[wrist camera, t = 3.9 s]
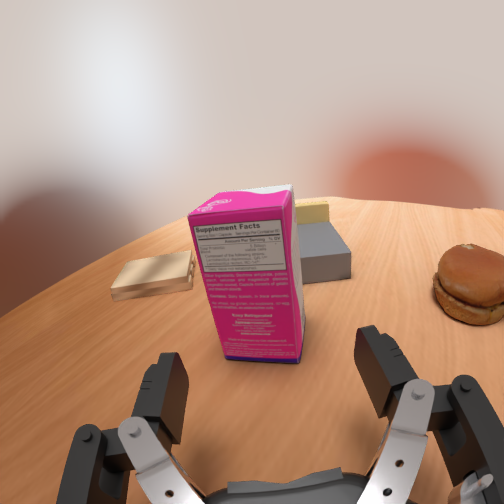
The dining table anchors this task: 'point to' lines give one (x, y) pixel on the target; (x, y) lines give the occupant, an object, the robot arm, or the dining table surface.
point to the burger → (471, 284)
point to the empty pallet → (155, 276)
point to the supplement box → (252, 272)
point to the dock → (320, 245)
